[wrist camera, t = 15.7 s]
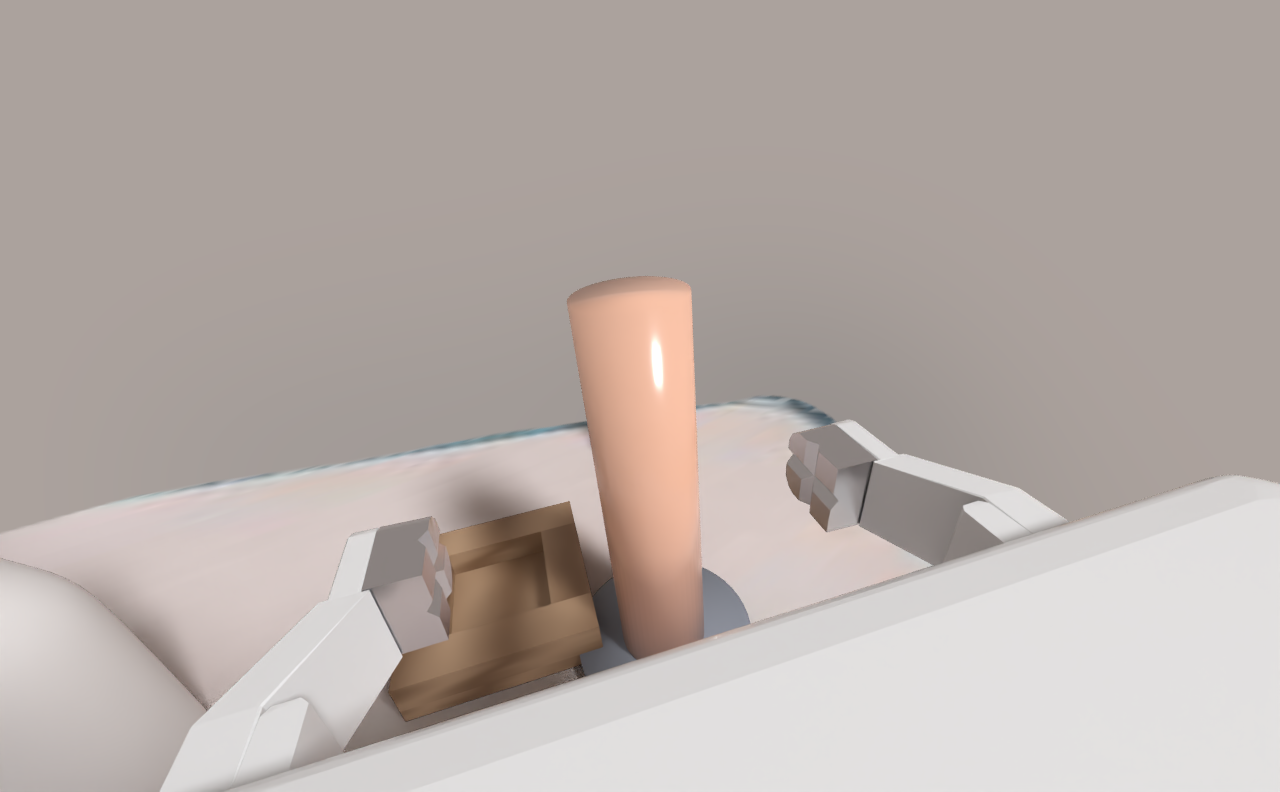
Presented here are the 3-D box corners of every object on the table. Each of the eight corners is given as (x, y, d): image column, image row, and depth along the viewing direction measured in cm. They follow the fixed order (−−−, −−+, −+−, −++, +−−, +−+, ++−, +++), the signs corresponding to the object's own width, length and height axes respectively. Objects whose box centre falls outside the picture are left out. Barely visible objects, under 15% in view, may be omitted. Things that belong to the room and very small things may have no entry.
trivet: (547, 642, 32) (544, 632, 31) (662, 546, 38) (661, 537, 38) (669, 778, 25) (667, 768, 24) (786, 632, 31) (787, 622, 30)
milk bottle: (251, 703, 30) (24, 436, 20) (164, 866, 23) (-238, 584, 14) (117, 729, 29) (-185, 466, 20) (-14, 906, 23) (-569, 638, 13)
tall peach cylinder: (606, 630, 31) (542, 300, 20) (662, 581, 34) (632, 270, 23) (664, 686, 28) (624, 325, 17) (721, 626, 31) (717, 286, 20)
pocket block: (405, 721, 28) (388, 692, 27) (426, 567, 38) (415, 540, 37) (605, 656, 31) (598, 626, 29) (575, 528, 41) (569, 501, 39)
